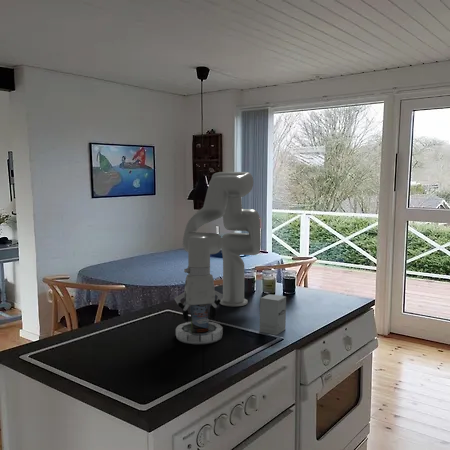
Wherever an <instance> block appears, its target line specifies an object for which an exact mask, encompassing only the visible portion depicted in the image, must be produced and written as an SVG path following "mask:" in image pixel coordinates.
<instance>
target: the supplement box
mask: <svg viewBox="0 0 450 450" xmlns="http://www.w3.org/2000/svg"><path fill="white" fill-rule="evenodd" d="M286 312H287V296H284V295H279V294H266V295H265V296H263V297H262V296H261V297H260V298H259V332H261V333H265V334H270V335H274V336H278V335H280V334H281V333H282V332H284V331H286V318H287V317H286V315H287V313H286Z"/></svg>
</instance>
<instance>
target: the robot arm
mask: <svg viewBox="0 0 450 450" xmlns="http://www.w3.org/2000/svg"><path fill="white" fill-rule="evenodd" d="M253 187H254V177H253V175H252V173H250V172H248V171H219V172H215V173H213V174H212V175H211V179H210V180H209V183H208V187H207V190H206V194H205V198H204V202H203V206H202V207H201V209H199V210H198V211H196V212H195V213H194V214H193V215H192V216H191V217H190V218H189V220H188V222H187V223H186V227H185V230H184V234H183V238H182V247H183V250H185V252H187V254H188V258H187V259H188V260H187V261H188V263H187V264H188V266H187V268H184V271H183V272H184V273H186V276H185V283H184V291H183V292H182V293H181V294H178V295H177V296H175V297H174V301H175V302H176V304H177V306H178V307H180V309H182V320H184V322H185V323H186V322H189V310H188V309H189V308H190V305H204V304H208V305H210V306H209V317H210V319H211V320H215V317H216V316H217V313H216V311H217V310H216V308H218V306H219V304H220V305H222V306H225V307H234V308H235V307H242V306H246V305H248V299H246V298H245V263H244V262H245V261H244V260H243V259H242V257H241V256H257V255H258V254H259V253H260V252H261V248H262V246H261V245H262V241H261V239H262V238H261V218H260V214H259V212H258V211H257V210H256V209H253V208H252V209H251V208H247V209H246V208H243V200H242V199H243V198H244V197H245V196H247V195H248V194H249V193H251V191H252V190H253ZM221 218H222V220H223V228H224V229H226V230H228V231H232V232H227V233H224V234H223V235H222V236H221V235H220V234H219V233H215V232H199V231H198V230H199V229H200V228H201V227H202V226H204V225H205V224H206V225H207V224H208V223H211V222H213V221H216V220H219V219H221ZM197 231H198V232H197ZM233 231H235V232H233ZM237 231H238V232H237ZM220 251H221V253H222V254H221V255H222V293H221V292H219V291H217V290H215V283H214V276H213V274H212V273H211V255H216V254H218V253H219V252H220ZM216 296H217V298H216ZM182 299H183V300H184V302H183V303H182V302H181V300H182Z"/></svg>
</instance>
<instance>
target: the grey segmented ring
mask: <svg viewBox="0 0 450 450" xmlns="http://www.w3.org/2000/svg"><path fill="white" fill-rule="evenodd" d="M208 326H209V331H208V332H207V333H204V334H194V333H192V332H191V321H188V322H186V321H185V322H183V323H181V324H178V325H177V326H176V328H175V336H176V339H177V340H178V342H180V343H184V344H189V345H208V344H209V345H210V344H214V343H216V342H219V341H220V340H222V338H223V333H224V332H223V331H224V327H223V326H222V325H221V324H220V323H217V322H213V321H209V320H208Z"/></svg>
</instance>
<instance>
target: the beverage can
mask: <svg viewBox="0 0 450 450" xmlns="http://www.w3.org/2000/svg"><path fill="white" fill-rule="evenodd" d="M208 305H209V304H204V305H190V306H189V308H190V309H189V310H190V322H191V332H192V333H194V334H204V333H207V332H208V331H209V326H208V321H209V307H208Z"/></svg>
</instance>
